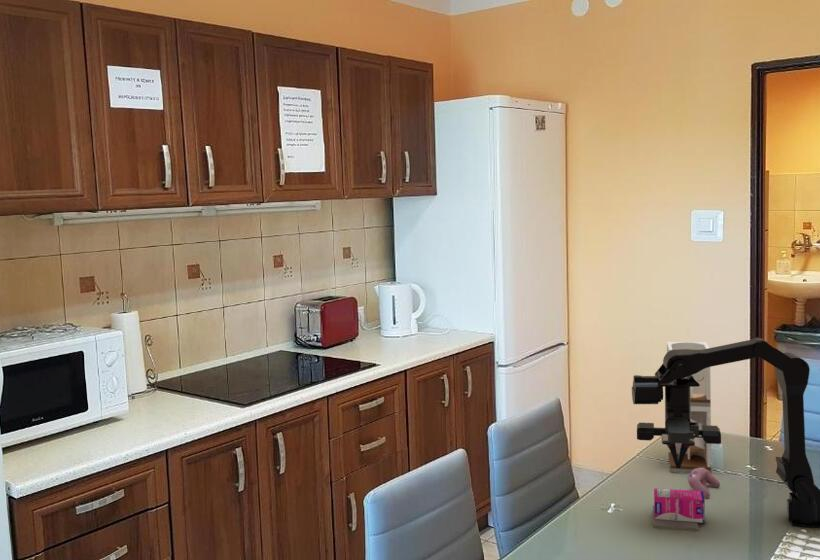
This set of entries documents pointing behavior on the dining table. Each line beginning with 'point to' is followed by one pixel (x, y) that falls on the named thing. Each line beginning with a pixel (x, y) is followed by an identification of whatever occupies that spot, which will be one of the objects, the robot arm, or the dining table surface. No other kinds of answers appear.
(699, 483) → the video game controller
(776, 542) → the dining table surface
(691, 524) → the rubber mat
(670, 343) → the display case
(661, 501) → the supplement box
